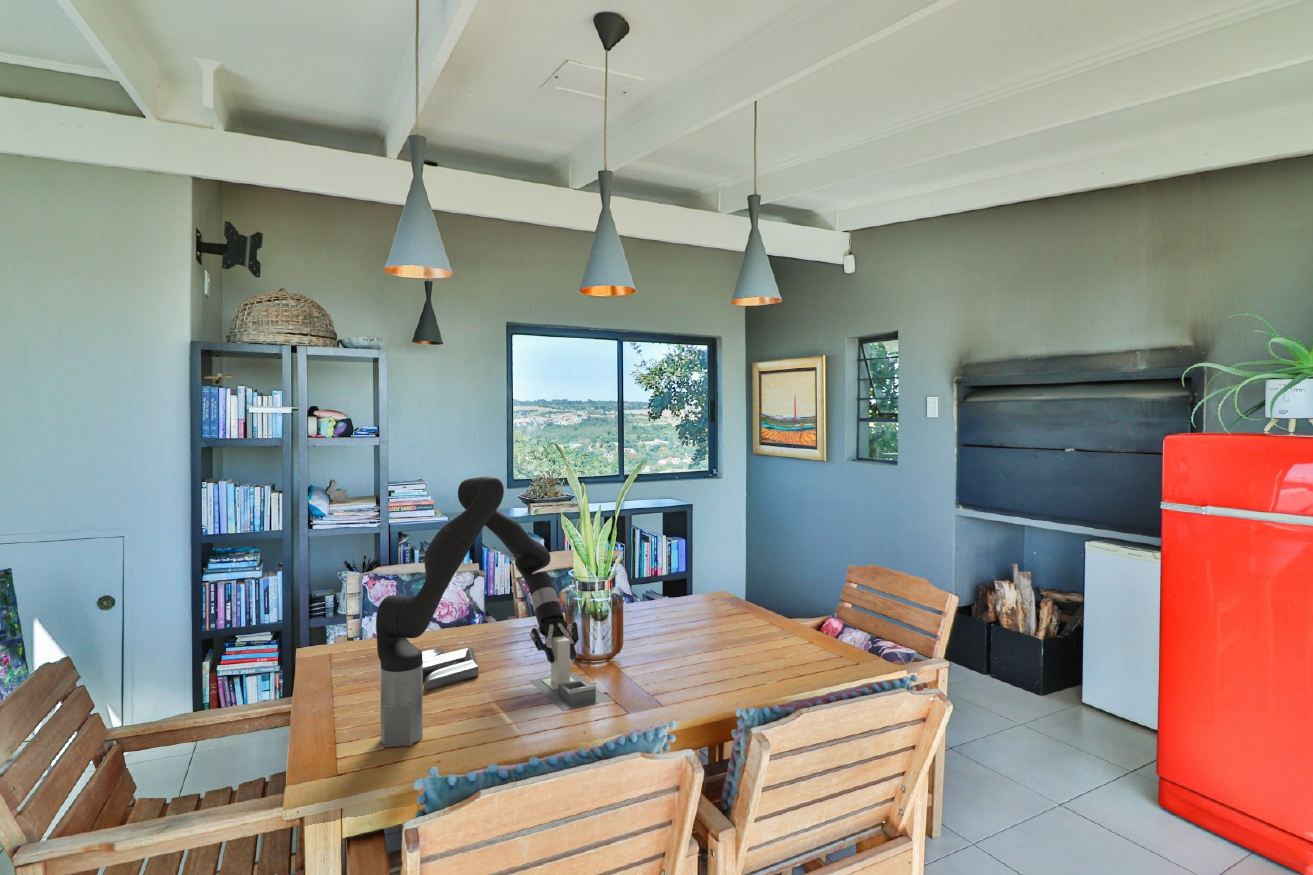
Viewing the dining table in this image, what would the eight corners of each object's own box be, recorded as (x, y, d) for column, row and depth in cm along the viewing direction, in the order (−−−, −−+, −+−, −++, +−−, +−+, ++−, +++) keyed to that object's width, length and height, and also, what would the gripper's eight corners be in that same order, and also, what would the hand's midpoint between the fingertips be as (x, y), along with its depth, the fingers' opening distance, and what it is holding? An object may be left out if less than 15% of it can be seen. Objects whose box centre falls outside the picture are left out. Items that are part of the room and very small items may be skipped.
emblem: (415, 638, 227) (498, 645, 221) (415, 655, 227) (498, 662, 222) (361, 669, 200) (454, 677, 194) (361, 688, 200) (454, 697, 194)
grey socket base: (562, 715, 182) (563, 696, 182) (528, 684, 203) (528, 667, 202) (612, 704, 189) (612, 686, 189) (574, 675, 210) (574, 659, 210)
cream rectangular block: (558, 685, 198) (558, 641, 198) (551, 680, 202) (551, 637, 202) (569, 683, 200) (569, 639, 200) (562, 677, 204) (562, 635, 204)
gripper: (526, 603, 203) (542, 657, 193) (573, 597, 210) (591, 649, 200) (520, 617, 208) (535, 671, 198) (566, 610, 215) (582, 662, 205)
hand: (563, 659), depth 199 cm, fingers open, 5 cm apart
